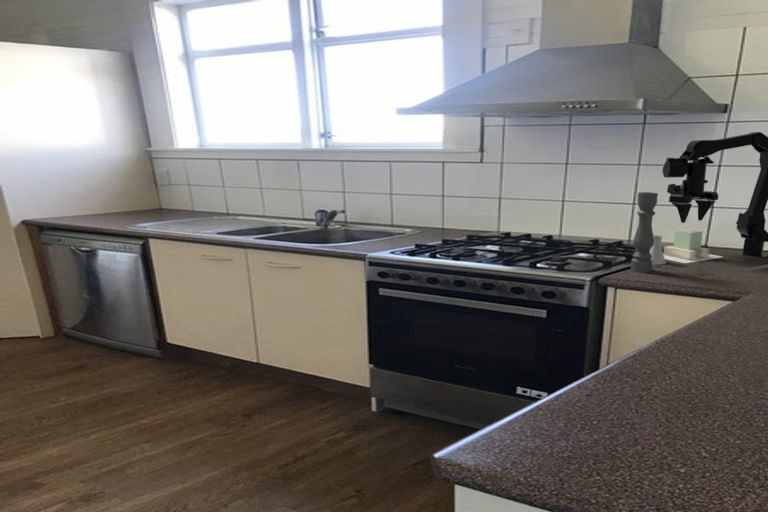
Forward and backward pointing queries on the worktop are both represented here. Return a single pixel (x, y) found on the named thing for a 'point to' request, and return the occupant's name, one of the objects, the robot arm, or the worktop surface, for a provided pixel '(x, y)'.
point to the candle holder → (644, 233)
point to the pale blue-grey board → (689, 260)
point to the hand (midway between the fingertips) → (691, 221)
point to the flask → (657, 252)
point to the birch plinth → (686, 253)
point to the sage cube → (688, 239)
